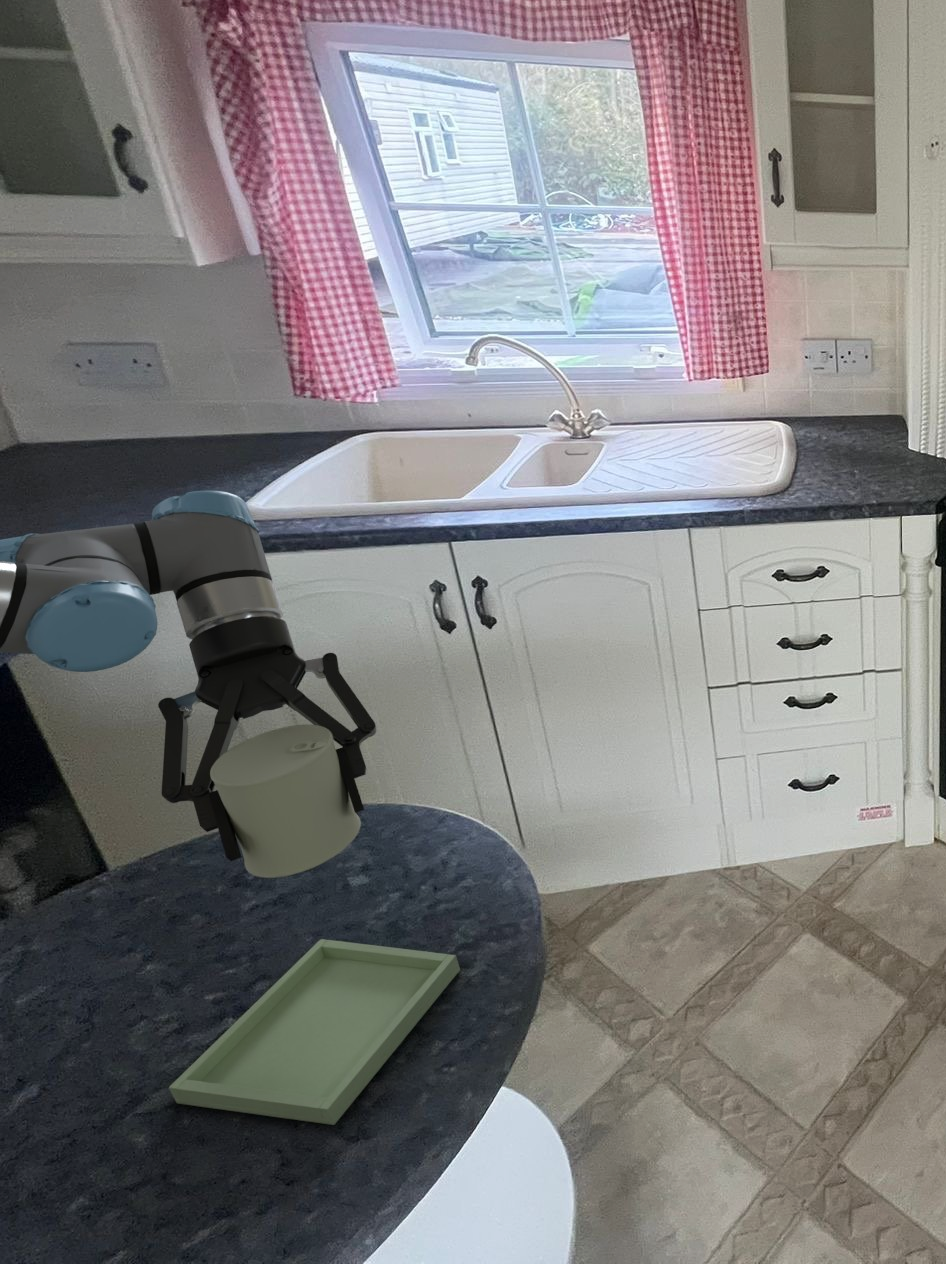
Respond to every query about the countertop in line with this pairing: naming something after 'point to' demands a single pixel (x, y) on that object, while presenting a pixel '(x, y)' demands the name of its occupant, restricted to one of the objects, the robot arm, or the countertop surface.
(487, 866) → the countertop surface
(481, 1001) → the countertop surface
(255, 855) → the can
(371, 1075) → the tray
